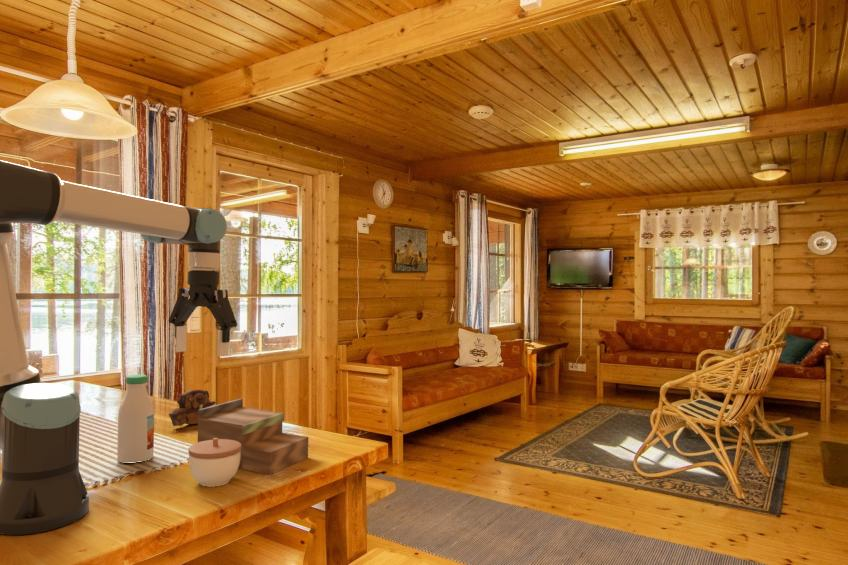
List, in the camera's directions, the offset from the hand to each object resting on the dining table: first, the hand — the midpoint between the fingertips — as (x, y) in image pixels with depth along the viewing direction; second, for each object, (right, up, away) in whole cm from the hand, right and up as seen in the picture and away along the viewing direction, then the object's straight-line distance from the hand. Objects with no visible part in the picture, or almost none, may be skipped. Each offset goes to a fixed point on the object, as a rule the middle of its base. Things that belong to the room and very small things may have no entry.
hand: (201, 353), depth 147 cm
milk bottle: (-12, -24, -9) cm, 29 cm away
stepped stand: (+15, -25, -6) cm, 29 cm away
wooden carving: (-11, -24, +24) cm, 36 cm away
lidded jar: (+11, -25, -22) cm, 35 cm away
